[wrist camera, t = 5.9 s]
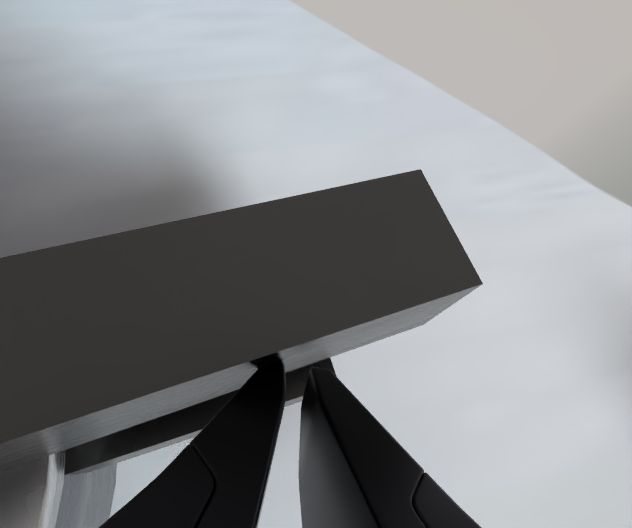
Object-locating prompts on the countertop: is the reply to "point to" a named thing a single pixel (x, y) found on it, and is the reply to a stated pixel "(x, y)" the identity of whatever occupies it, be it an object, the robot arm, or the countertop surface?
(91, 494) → the cooker pot
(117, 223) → the countertop surface
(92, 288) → the cooker lid
